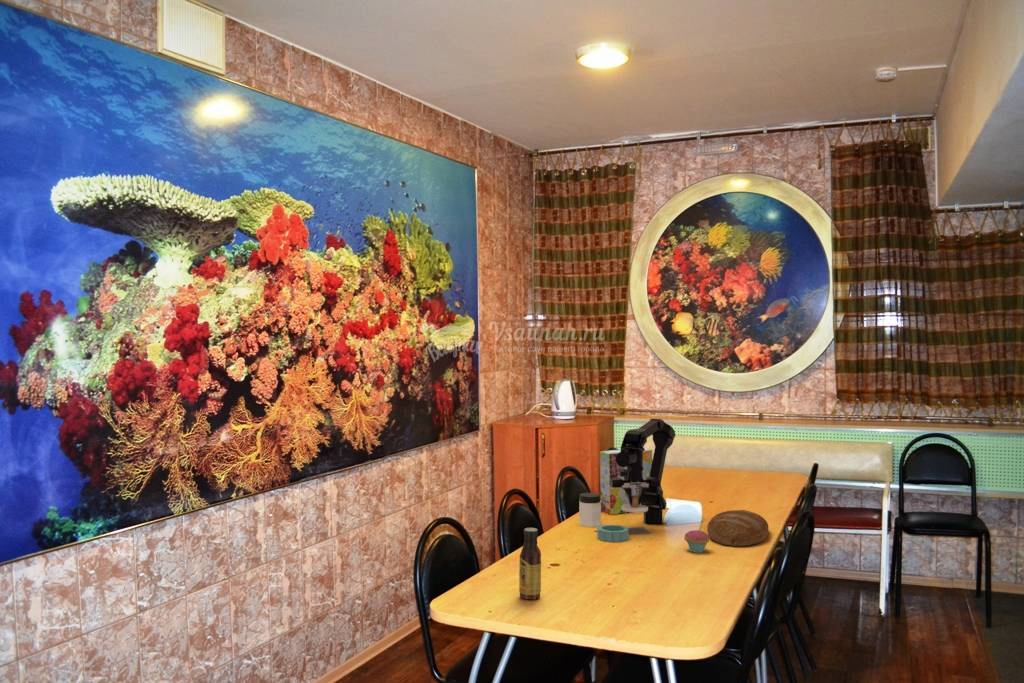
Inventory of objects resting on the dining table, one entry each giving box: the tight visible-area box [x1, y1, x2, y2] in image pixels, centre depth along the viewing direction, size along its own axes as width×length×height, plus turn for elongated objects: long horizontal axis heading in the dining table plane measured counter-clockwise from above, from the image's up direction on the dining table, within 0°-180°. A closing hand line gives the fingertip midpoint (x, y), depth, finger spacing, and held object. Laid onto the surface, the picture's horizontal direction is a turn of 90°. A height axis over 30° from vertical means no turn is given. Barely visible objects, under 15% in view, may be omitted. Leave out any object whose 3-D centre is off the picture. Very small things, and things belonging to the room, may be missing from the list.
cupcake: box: [683, 517, 710, 553], centre depth 296 cm, size 9×8×12 cm
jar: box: [578, 492, 602, 528], centre depth 333 cm, size 9×8×12 cm
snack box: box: [599, 447, 653, 515], centre depth 359 cm, size 22×9×26 cm, turn 115°
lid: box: [621, 495, 648, 514], centre depth 323 cm, size 10×10×5 cm
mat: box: [628, 526, 652, 535], centre depth 323 cm, size 10×10×1 cm
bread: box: [706, 509, 769, 547], centre depth 319 cm, size 22×37×8 cm, turn 159°
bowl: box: [596, 524, 630, 543], centre depth 312 cm, size 11×11×4 cm
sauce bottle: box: [518, 527, 542, 600], centre depth 245 cm, size 6×6×20 cm
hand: (634, 504), depth 323 cm, fingers closed on lid, 3 cm apart
